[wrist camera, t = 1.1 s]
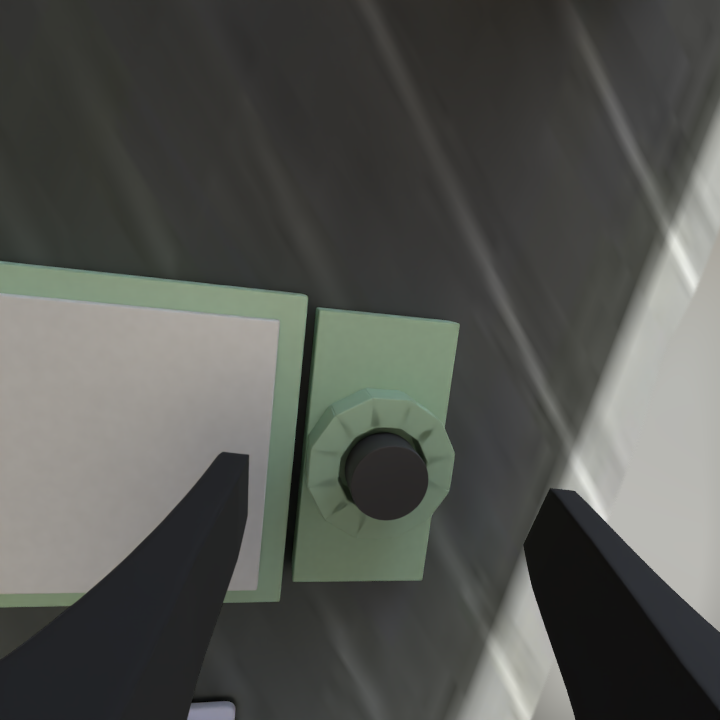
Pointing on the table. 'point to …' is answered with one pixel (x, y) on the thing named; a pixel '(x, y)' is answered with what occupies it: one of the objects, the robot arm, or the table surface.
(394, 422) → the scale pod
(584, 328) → the table surface
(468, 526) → the table surface
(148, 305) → the scale
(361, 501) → the button
